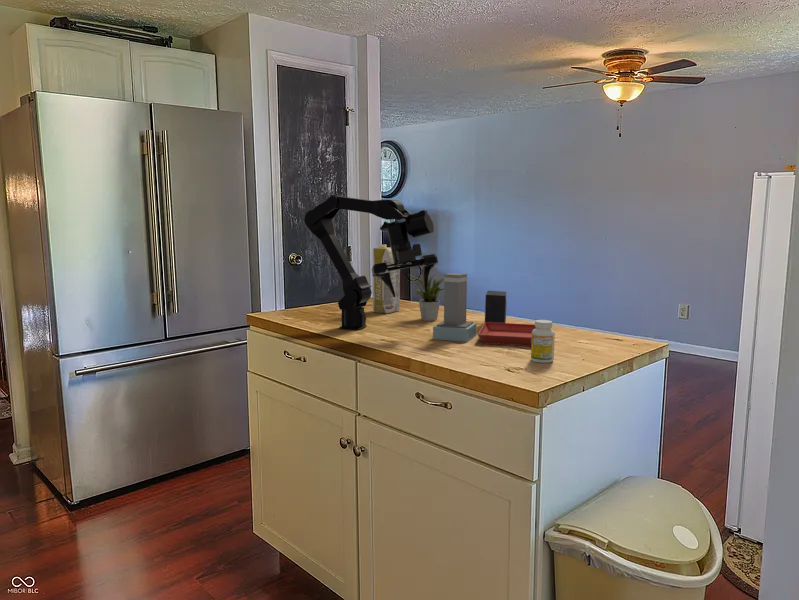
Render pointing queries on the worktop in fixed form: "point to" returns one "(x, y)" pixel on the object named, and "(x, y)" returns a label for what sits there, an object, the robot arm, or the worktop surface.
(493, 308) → the small box
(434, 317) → the house plant
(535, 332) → the supplement bottle
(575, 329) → the worktop surface
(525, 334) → the plant saucer
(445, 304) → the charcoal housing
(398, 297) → the juice carton
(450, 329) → the slate stand
